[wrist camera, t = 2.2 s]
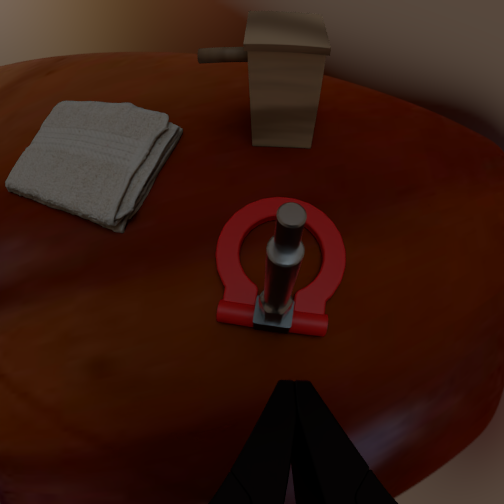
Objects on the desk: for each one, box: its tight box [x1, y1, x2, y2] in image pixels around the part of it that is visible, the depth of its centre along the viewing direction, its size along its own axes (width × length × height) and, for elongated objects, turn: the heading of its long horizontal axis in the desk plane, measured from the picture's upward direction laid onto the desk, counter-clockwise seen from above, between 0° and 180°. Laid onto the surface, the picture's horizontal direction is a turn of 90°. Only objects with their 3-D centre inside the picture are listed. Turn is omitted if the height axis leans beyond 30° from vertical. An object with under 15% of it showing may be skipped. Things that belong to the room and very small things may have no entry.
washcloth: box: [5, 101, 183, 233], centre depth 26 cm, size 12×18×3 cm, turn 71°
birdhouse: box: [198, 11, 331, 148], centre depth 22 cm, size 5×9×11 cm, turn 87°
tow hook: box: [215, 197, 346, 337], centre depth 16 cm, size 9×14×10 cm
